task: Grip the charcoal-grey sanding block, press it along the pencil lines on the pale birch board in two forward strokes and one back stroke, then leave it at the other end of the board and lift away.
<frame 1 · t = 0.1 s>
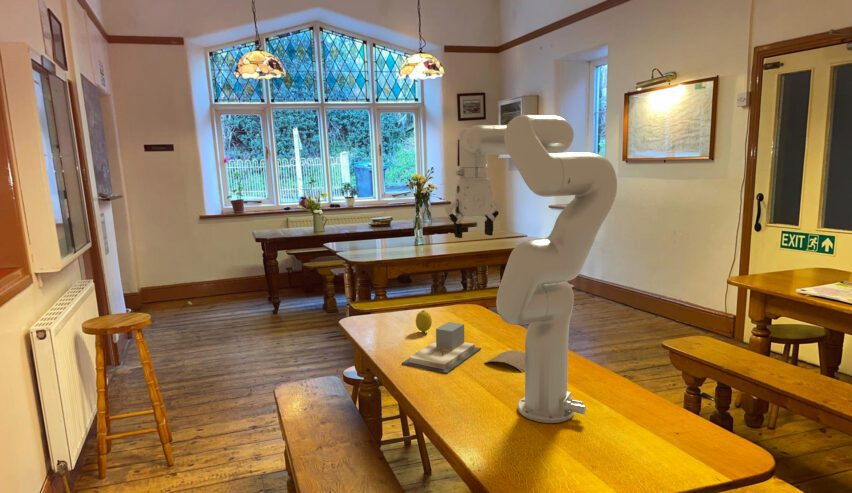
hand: (473, 236, 143), 37 cm above the table, tool pointing down, fingers open, 9 cm apart
board: (442, 356, 155), on the table
sanding block: (450, 345, 159), point 2 cm above the table, touching board
clay tablet: (511, 365, 149), on the table
lemon: (423, 333, 178), on the table
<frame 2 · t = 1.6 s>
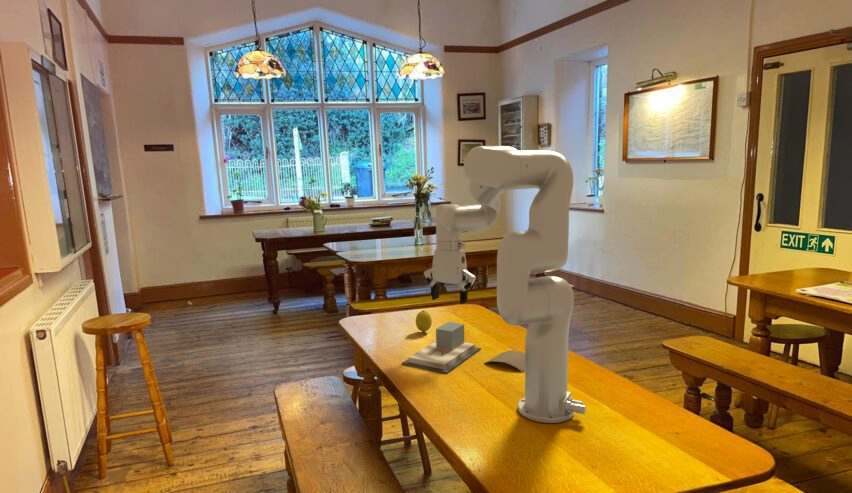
hand: (449, 300, 157), 16 cm above the table, tool pointing down, fingers open, 9 cm apart
nothing on the table moved.
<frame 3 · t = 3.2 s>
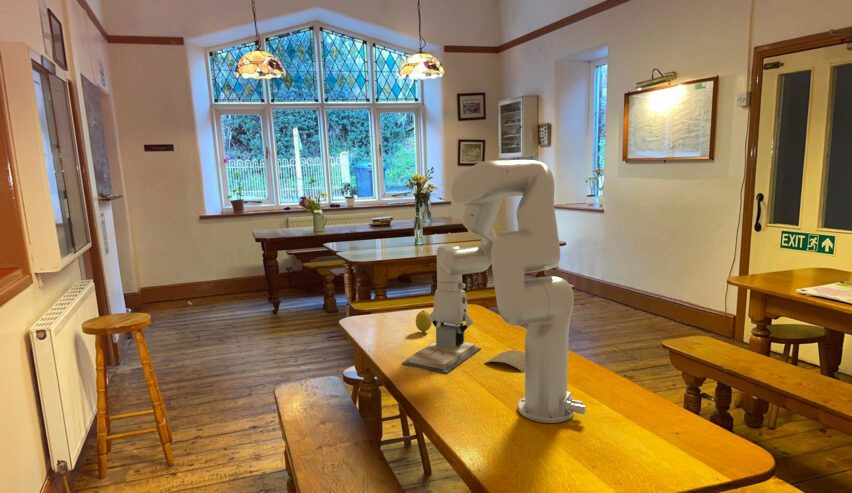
hand: (450, 342, 159), 3 cm above the table, tool pointing down, fingers closed on sanding block, 5 cm apart
sanding block: (450, 345, 159), point 2 cm above the table, touching board, gripper
everything else where it was.
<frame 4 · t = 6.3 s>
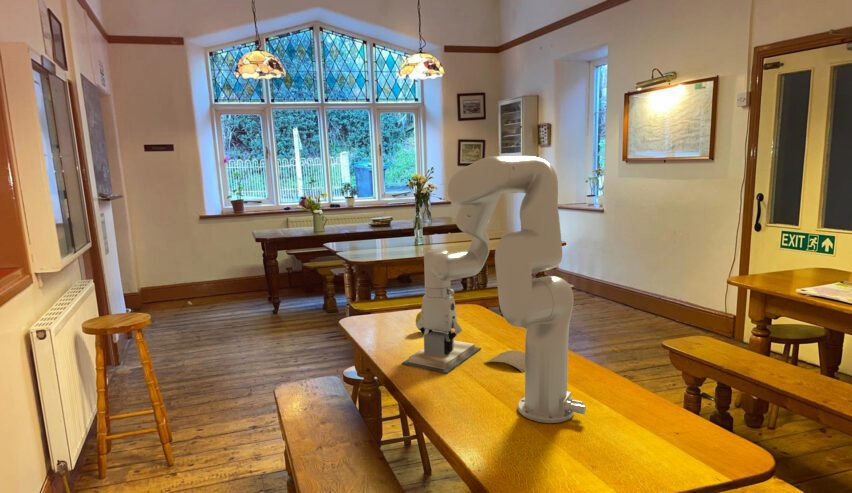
hand: (438, 350, 153), 3 cm above the table, tool pointing down, fingers closed on sanding block, 5 cm apart
sanding block: (439, 352, 153), point 2 cm above the table, touching gripper
everything else where it was.
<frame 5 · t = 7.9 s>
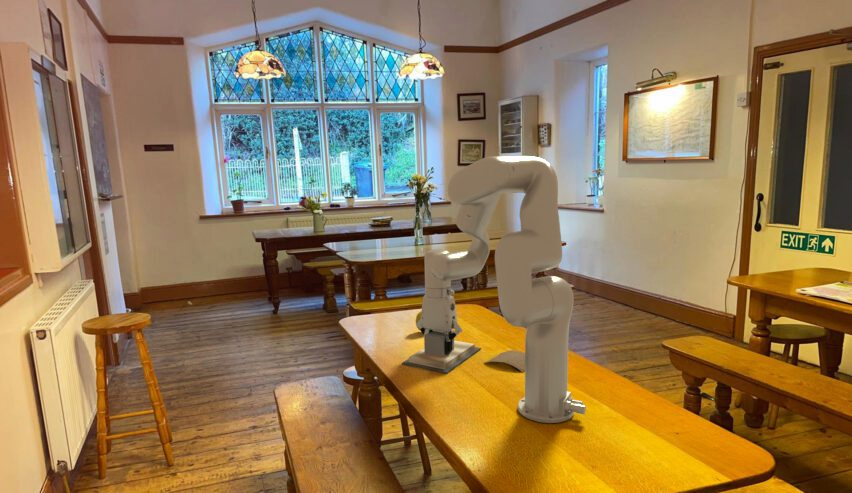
hand: (439, 350, 153), 3 cm above the table, tool pointing down, fingers closed on sanding block, 5 cm apart
sanding block: (439, 352, 153), point 2 cm above the table, touching gripper
everything else where it was.
when the fingers open (3 cm above the table, at t = 9.5 s): sanding block stays where it is, resting on board.
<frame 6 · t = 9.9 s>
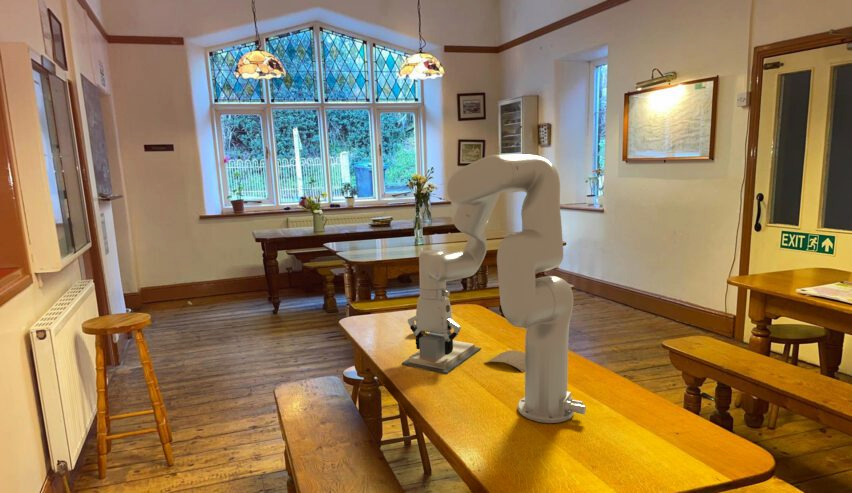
hand: (434, 350, 150), 4 cm above the table, tool pointing down, fingers open, 9 cm apart
sanding block: (434, 355, 151), point 2 cm above the table, touching board
everything else where it was.
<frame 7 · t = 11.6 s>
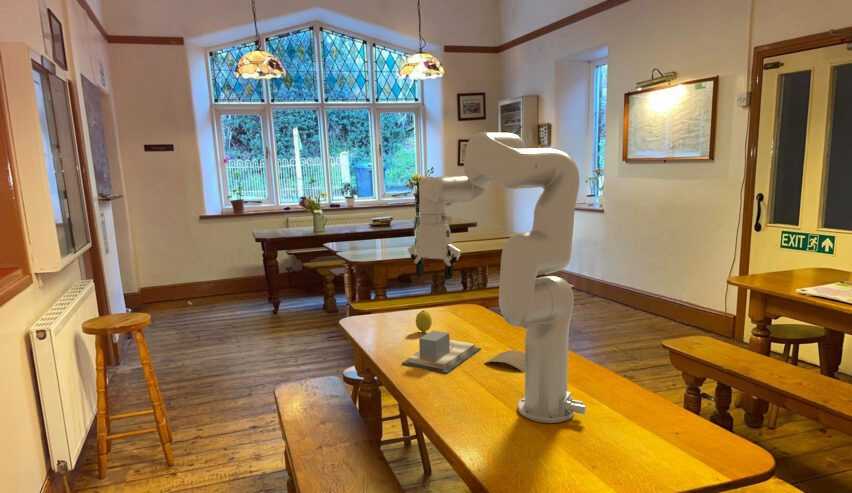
hand: (434, 277, 153), 24 cm above the table, tool pointing down, fingers open, 9 cm apart
nothing on the table moved.
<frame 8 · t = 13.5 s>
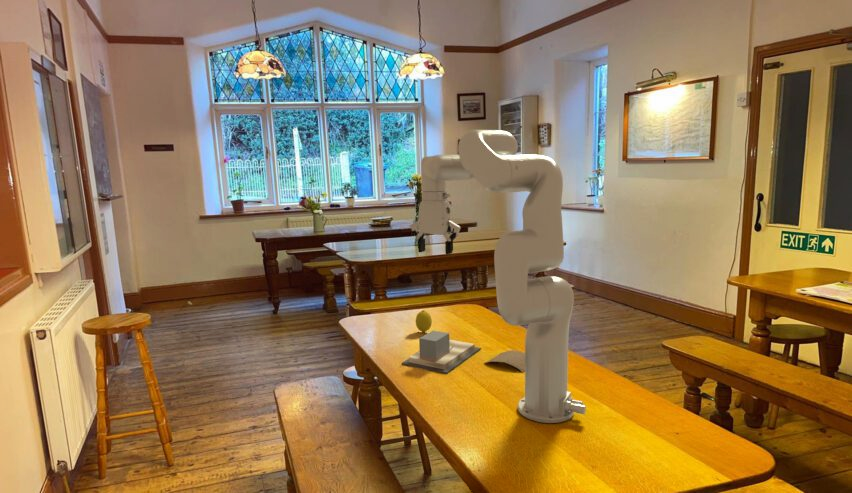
hand: (435, 252, 159), 30 cm above the table, tool pointing down, fingers open, 9 cm apart
nothing on the table moved.
at the end: sanding block inside the target area on the board (0.2 cm from its centre), point 2.0 cm above the board's base; sanding block tilted 0°; the gripper is holding nothing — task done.
